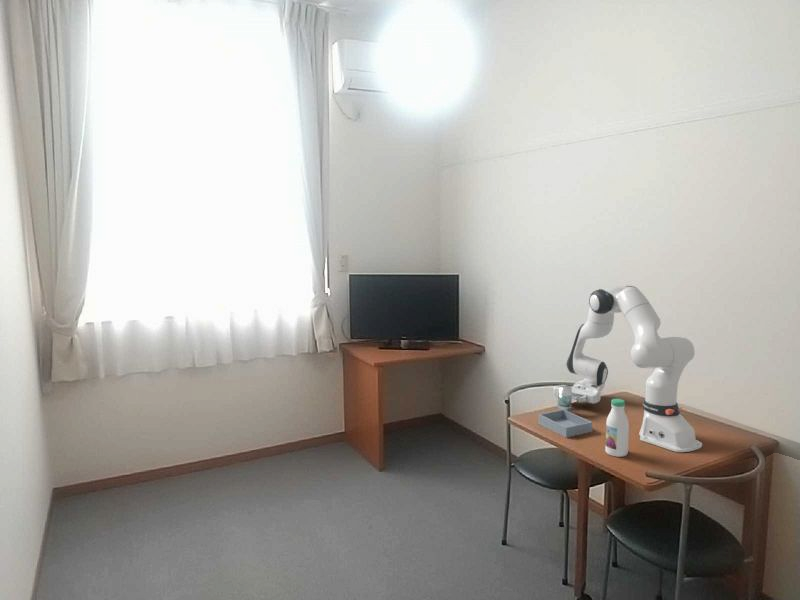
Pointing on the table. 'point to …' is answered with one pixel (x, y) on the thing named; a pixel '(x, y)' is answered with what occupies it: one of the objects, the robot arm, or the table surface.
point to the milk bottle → (617, 430)
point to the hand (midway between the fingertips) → (567, 398)
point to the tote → (565, 423)
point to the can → (564, 398)
